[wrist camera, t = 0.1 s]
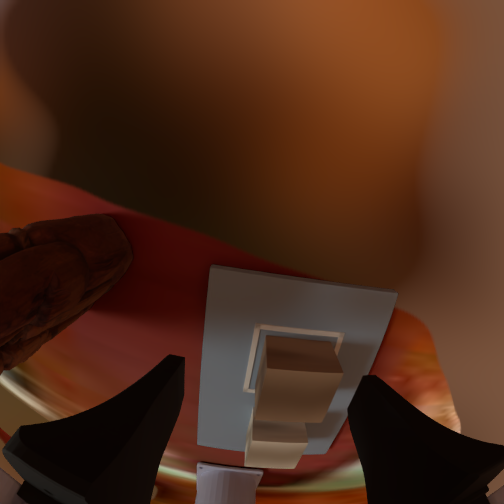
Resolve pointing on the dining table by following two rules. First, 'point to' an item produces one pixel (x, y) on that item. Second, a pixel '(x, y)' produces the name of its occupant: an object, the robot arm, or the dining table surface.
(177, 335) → the dining table surface
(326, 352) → the walnut base block
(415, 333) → the dining table surface
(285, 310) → the mat
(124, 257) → the wooden figurine
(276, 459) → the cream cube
